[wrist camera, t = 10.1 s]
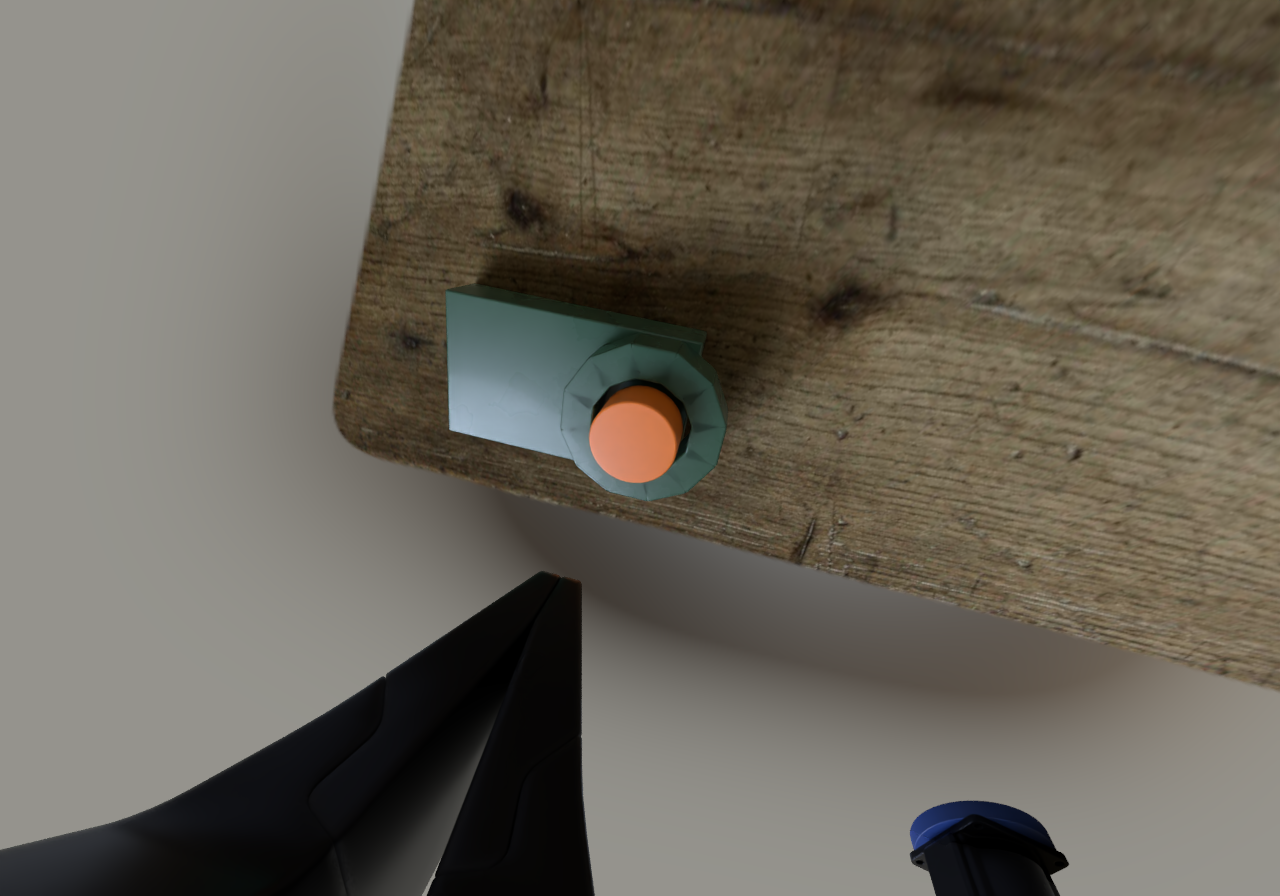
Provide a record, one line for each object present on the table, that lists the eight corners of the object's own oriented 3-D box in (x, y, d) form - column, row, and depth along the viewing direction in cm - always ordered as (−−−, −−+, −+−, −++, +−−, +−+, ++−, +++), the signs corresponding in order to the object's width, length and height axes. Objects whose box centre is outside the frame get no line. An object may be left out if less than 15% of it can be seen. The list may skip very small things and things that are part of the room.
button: (691, 395, 16) (685, 412, 15) (674, 469, 18) (667, 493, 16) (607, 376, 17) (593, 392, 15) (597, 451, 18) (583, 472, 16)
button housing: (743, 338, 19) (744, 365, 15) (709, 468, 21) (702, 517, 18) (473, 282, 20) (415, 295, 16) (473, 413, 23) (423, 448, 19)
